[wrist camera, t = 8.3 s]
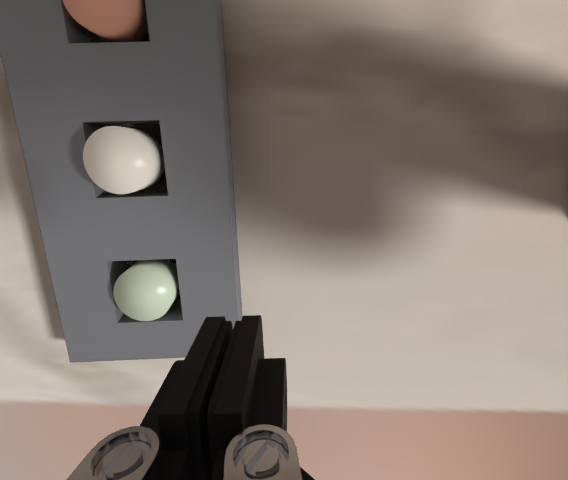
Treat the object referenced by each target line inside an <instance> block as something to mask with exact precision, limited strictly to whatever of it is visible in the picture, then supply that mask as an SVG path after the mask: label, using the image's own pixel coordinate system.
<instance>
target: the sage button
mask: <svg viewBox="0 0 568 480" xmlns="http://www.w3.org/2000/svg"><path fill="white" fill-rule="evenodd" d="M179 292H180V290H179V282H178V273H177V266H176V265H175V264H174V263H173V262H171V261H170V260H168V259H156V260H138V261H137V262H136V263H135V264H133V265H132V266H131V267H130V268H129V269H127V270H126V271H125V272H124V273H123V274H121V275H120V276H119V278H118V279H117V281H116V282H115V285H114V290H113V294H114V299H115V302H116V304H117V306H118V307H119V309H120V310H121V311H122V312H123V313H124V314H125V315H127V316H128V317H130V318H132V319H135V320H139V321H152V320H155V319H158V318H160V317H162V316H163V315H164V314H165V313H166V312H167V311H168V310H169V308H170V306H171V305H172V303H173V302H174V300H175V299H176V297H177V296H178V294H179Z"/></svg>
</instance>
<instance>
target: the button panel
mask: <svg viewBox="0 0 568 480" xmlns="http://www.w3.org/2000/svg"><path fill="white" fill-rule="evenodd" d="M145 5H146V13H147V21H148V30H149V38H150V41H149V42H106V43H90V38H89V32H88V29H87V28H85V27H84V26H82V25H80V24H79V23H78V22H77V21H76V20H75V19H74V18H73V17H72V16H71V15H70V13H69V12H68V10H67V9H66V7H65V5H64V3H63V0H0V52H1V57H2V61H3V66H4V70H5V75H6V79H7V83H8V88H9V92H10V97H11V101H12V106H13V110H14V115H15V119H16V124H17V128H18V132H19V137H20V141H21V146H22V150H23V155H24V159H25V164H26V168H27V173H28V177H29V181H30V186H31V190H32V195H33V199H34V204H35V208H36V213H37V217H38V222H39V226H40V230H41V235H42V239H43V244H44V248H45V253H46V257H47V262H48V266H49V271H50V275H51V279H52V284H53V288H54V293H55V297H56V302H57V306H58V311H59V315H60V319H61V324H62V328H63V333H64V337H65V342H66V346H67V351H68V355H69V360H70V362H91V361H114V360H137V359H160V358H183V357H186V356H187V354H188V352H189V350H190V348H191V346H192V344H193V342H194V340H195V338H196V336H197V334H198V332H199V330H200V328H201V326H202V324H203V322H204V320H205V318H206V317H220V316H225V318H226V321H231V322H232V327H233V328H234V325H235V322H236V321H241V320H242V303H241V288H240V273H239V259H238V244H237V229H236V214H235V200H234V185H233V170H232V155H231V141H230V126H229V111H228V96H227V82H226V67H225V52H224V37H223V23H222V8H221V0H145ZM153 123H160V131H161V139H162V147H163V156H164V164H165V173H166V181H167V189H168V191H156V192H132V193H128V194H114V193H110V192H108V191H105V190H104V189H102V188H100V187H99V186H98V185H96V184H95V183H94V182H93V181H92V179H91V178H90V177H89V175H88V173H87V171H86V169H85V166H84V162H83V150H84V146H85V143H86V141H87V139H88V138H89V137H90V135H91V134H92V133H94V132H95V131H96V130H98V129H100V128H103V127H104V125H117V124H153ZM156 259H176V265H177V273H178V282H179V290H180V298H181V304H172V305H171V306H170V308H169V310H168V311H167V312H166V313H165V314H164V315H163V316H162V317H160V318H158V319H155V320H152V321H139V320H135V319H132V318H130V317H128V316H127V315H125V314H124V313H123V312H122V311H121V310H120V309H119V307H118V306H117V304H116V302H115V299H114V294H113V290H114V285H115V282H116V281H117V279H118V278H119V276H120V275H121V274H123V273H124V272H125V271H126V270H127V268H126V262H125V261H129V260H156Z"/></svg>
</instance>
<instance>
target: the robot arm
mask: <svg viewBox="0 0 568 480" xmlns="http://www.w3.org/2000/svg"><path fill="white" fill-rule="evenodd" d="M67 480H314V479H313V478H312V477H311V476H310V475H309V474H308V473H307V472H305V471H304V470H303V469H302V468H301V467H300V465H299V459H298V454H297V448H296V445H295V443H294V440H293V438H292V437H291V436H290V435H289V434H288V433H287V377H286V360H285V358H270V359H264V348H263V333H262V319H261V315H258V316H243V317H242V320H241V321H236V322H235V325H234V328H233V327H232V322H231V321H226V318H225V316H220V317H206V318H205V320H204V322H203V324H202V326H201V328H200V330H199V332H198V334H197V336H196V338H195V340H194V342H193V344H192V346H191V348H190V350H189V352H188V354H187V356H186V358H185V360H178V361H175V363H174V364H173V366H172V367H171V369H170V371H169V373H168V375H167V377H166V378H165V380H164V382H163V384H162V386H161V388H160V390H159V391H158V393H157V395H156V397H155V399H154V401H153V402H152V404H151V406H150V408H149V410H148V412H147V413H146V415H145V417H144V419H143V421H142V423H141V424H140V426H135V427H129V428H125V429H121V430H119V431H116V432H114V433H112V434H110V435H108V436H107V437H106V438H104V439H103V440H101V441H100V442H99V443H98V444H97V445H96V446H95V447H94V448H93V449H92V450H91V451H90V452H89V453H88V454H87V456H86V457H85V458H84V459H83V460H82V461H81V463H80V464H79V465H78V466H77V468H76V469H75V470H74V471H73V472H72V474H71V475H70V476H69V477H68V479H67Z"/></svg>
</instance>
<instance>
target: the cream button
mask: <svg viewBox="0 0 568 480" xmlns="http://www.w3.org/2000/svg"><path fill="white" fill-rule="evenodd" d="M83 162H84V166H85V169H86V171H87V173H88V175H89V177H90V178H91V179H92V181H93V182H94V183H95V184H96V185H98V186H99V187H100V188H102V189H104V190H105V191H108V192H110V193H114V194H128V193H132V192H135V191H138V190H141V189H144V188H147V187H150V186H152V185H153V184H155V183H156V182H157V181H158V180H159V179H160V177H161V176H162V174H163V171H164V167H165V164H164V156H163V150H162V148H161V146H160V144H159V143H158V142H157V140H156V139H155V138H154V137H153V136H151V135H150V134H149V133H147V132H145V131H143V130H140V129H135V128H127V127H120V126H107V127H103V128H100V129H98V130H96V131H95V132H94V133H92V134H91V135H90V137H89V138H88V139H87V141H86V143H85V146H84V150H83Z"/></svg>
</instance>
